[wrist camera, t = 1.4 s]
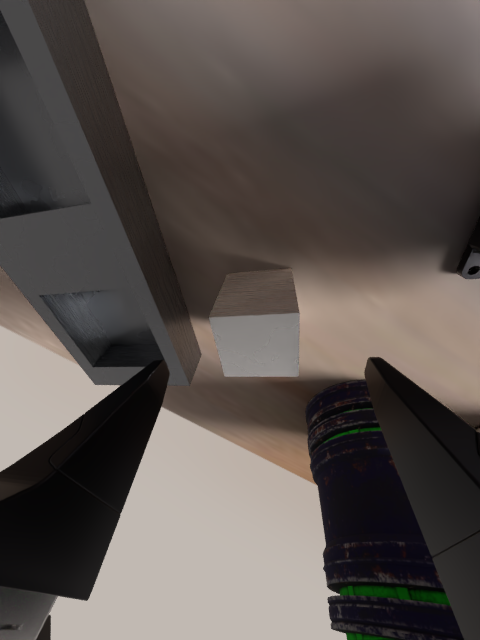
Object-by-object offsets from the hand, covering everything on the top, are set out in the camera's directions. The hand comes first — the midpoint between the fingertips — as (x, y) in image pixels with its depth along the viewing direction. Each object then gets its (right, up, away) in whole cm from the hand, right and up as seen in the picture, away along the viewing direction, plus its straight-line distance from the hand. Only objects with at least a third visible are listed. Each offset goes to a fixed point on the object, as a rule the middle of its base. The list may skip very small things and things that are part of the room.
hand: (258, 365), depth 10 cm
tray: (-9, +7, +4) cm, 12 cm away
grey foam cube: (+1, +3, +5) cm, 6 cm away
